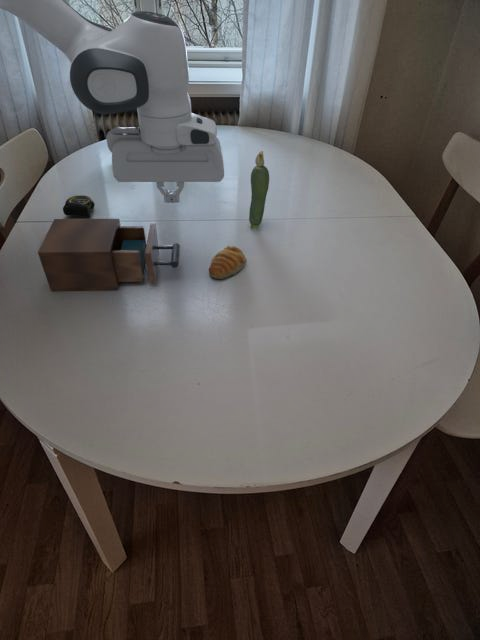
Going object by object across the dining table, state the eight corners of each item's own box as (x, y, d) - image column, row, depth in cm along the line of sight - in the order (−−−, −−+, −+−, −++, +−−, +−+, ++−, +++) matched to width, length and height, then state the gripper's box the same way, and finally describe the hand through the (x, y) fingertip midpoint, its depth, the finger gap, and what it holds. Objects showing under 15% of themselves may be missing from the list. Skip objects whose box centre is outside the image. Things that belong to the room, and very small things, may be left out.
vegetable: (250, 222, 111) (254, 144, 97) (266, 224, 110) (272, 146, 97) (246, 231, 108) (250, 151, 94) (263, 233, 107) (269, 153, 93)
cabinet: (126, 255, 99) (119, 218, 92) (117, 290, 89) (109, 251, 83) (65, 256, 98) (54, 218, 91) (51, 291, 89) (37, 252, 82)
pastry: (227, 285, 92) (227, 271, 89) (200, 275, 94) (200, 261, 91) (248, 263, 98) (249, 249, 95) (223, 254, 100) (223, 240, 97)
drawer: (181, 253, 98) (179, 223, 93) (179, 284, 90) (176, 253, 85) (103, 254, 97) (96, 223, 92) (94, 285, 89) (86, 254, 84)
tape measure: (64, 219, 110) (60, 205, 107) (74, 206, 115) (70, 193, 112) (90, 221, 109) (86, 207, 107) (99, 207, 114) (96, 194, 112)
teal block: (143, 274, 90) (140, 258, 88) (121, 274, 90) (118, 258, 87) (146, 255, 95) (144, 239, 93) (125, 255, 95) (123, 240, 92)
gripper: (100, 134, 71) (115, 209, 80) (224, 134, 72) (224, 209, 82) (107, 120, 75) (120, 194, 85) (223, 121, 77) (223, 193, 86)
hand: (172, 201), depth 83 cm, fingers closed
